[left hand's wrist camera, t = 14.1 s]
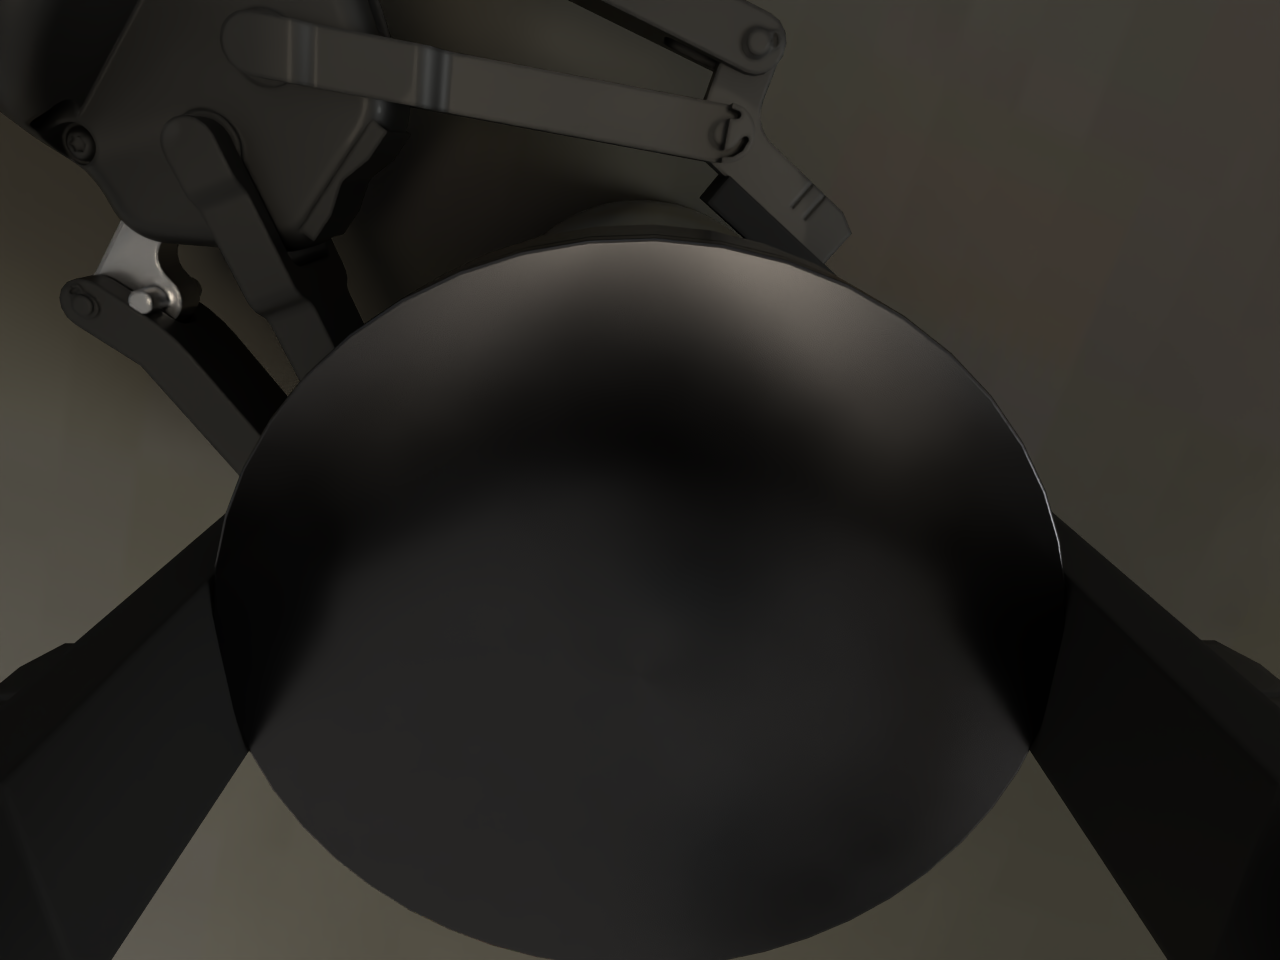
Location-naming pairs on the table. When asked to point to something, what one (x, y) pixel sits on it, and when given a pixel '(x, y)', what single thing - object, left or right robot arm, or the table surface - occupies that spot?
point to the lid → (639, 598)
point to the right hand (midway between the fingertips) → (756, 505)
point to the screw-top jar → (640, 217)
